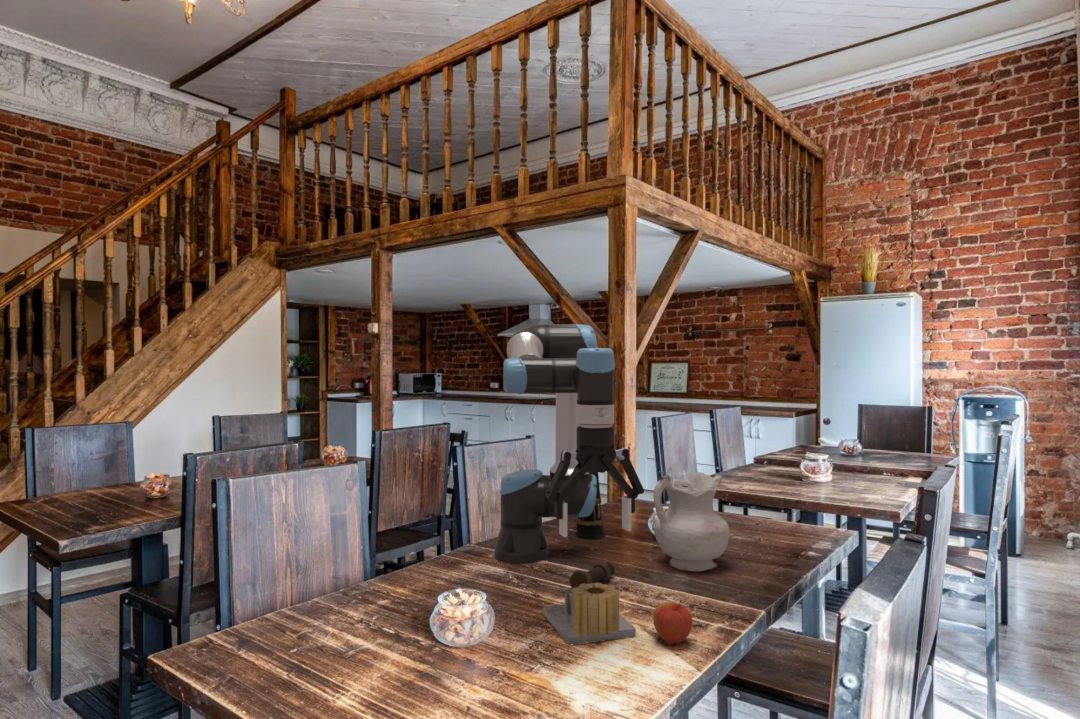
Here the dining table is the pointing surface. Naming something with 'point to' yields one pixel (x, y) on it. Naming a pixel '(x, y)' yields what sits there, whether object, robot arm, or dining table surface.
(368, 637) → the dining table surface
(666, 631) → the apple
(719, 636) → the dining table surface
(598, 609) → the gear
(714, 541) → the ceramic pitcher
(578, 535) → the lantern
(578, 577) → the bolt
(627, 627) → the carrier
